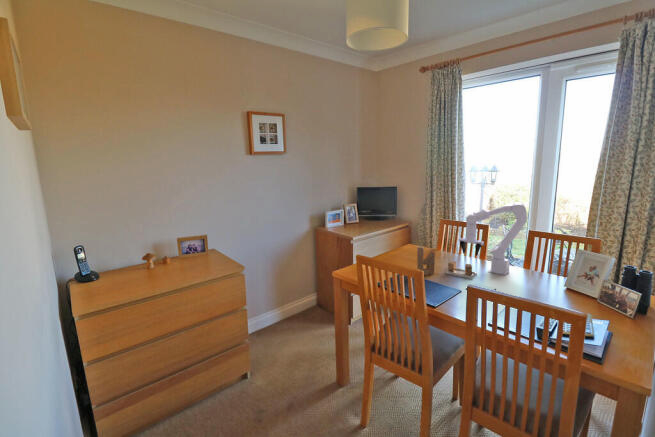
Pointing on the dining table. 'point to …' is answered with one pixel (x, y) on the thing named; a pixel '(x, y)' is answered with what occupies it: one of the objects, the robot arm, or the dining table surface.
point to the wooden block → (425, 261)
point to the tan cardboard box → (468, 269)
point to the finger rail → (458, 271)
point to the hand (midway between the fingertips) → (470, 254)
